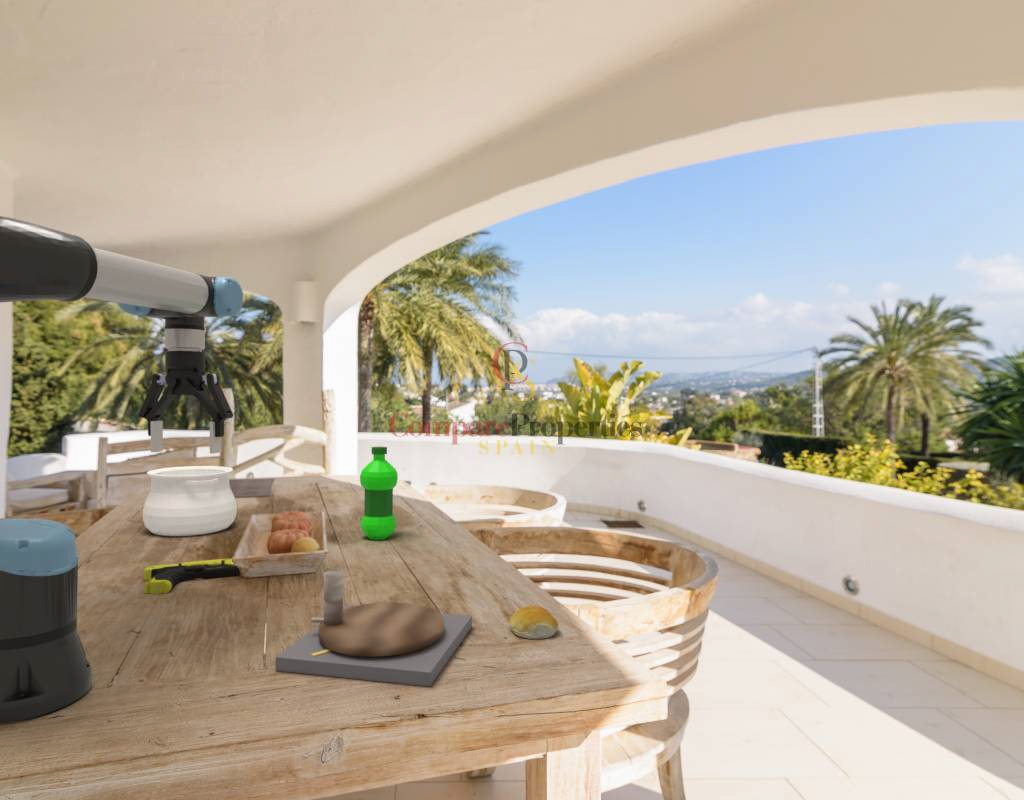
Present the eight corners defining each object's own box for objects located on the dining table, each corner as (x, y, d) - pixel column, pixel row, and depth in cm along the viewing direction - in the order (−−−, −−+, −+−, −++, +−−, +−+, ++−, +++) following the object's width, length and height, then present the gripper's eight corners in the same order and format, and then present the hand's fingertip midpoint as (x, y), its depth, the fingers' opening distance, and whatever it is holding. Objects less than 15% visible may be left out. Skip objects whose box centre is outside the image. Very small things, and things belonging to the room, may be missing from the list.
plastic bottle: (390, 542, 180) (391, 449, 179) (353, 540, 182) (354, 448, 181) (402, 534, 190) (403, 446, 189) (367, 532, 192) (367, 445, 191)
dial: (449, 611, 120) (449, 558, 119) (437, 657, 100) (438, 593, 99) (327, 610, 119) (328, 556, 119) (292, 655, 99) (292, 592, 99)
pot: (132, 527, 195) (132, 469, 194) (219, 516, 211) (219, 463, 211) (156, 543, 176) (156, 479, 175) (250, 530, 192) (250, 472, 192)
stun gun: (243, 573, 141) (239, 556, 155) (139, 583, 133) (144, 564, 147) (243, 587, 141) (239, 569, 155) (139, 598, 133) (144, 578, 147)
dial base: (430, 686, 95) (430, 671, 95) (275, 670, 100) (275, 655, 100) (471, 626, 119) (472, 614, 119) (345, 616, 124) (345, 604, 124)
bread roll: (548, 620, 123) (548, 599, 123) (562, 638, 115) (563, 615, 115) (504, 623, 122) (504, 601, 121) (515, 642, 113) (515, 618, 113)
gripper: (250, 351, 142) (250, 451, 142) (145, 352, 146) (145, 449, 146) (229, 349, 134) (229, 455, 135) (119, 350, 139) (119, 453, 139)
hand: (185, 452), depth 141 cm, fingers open, 13 cm apart
